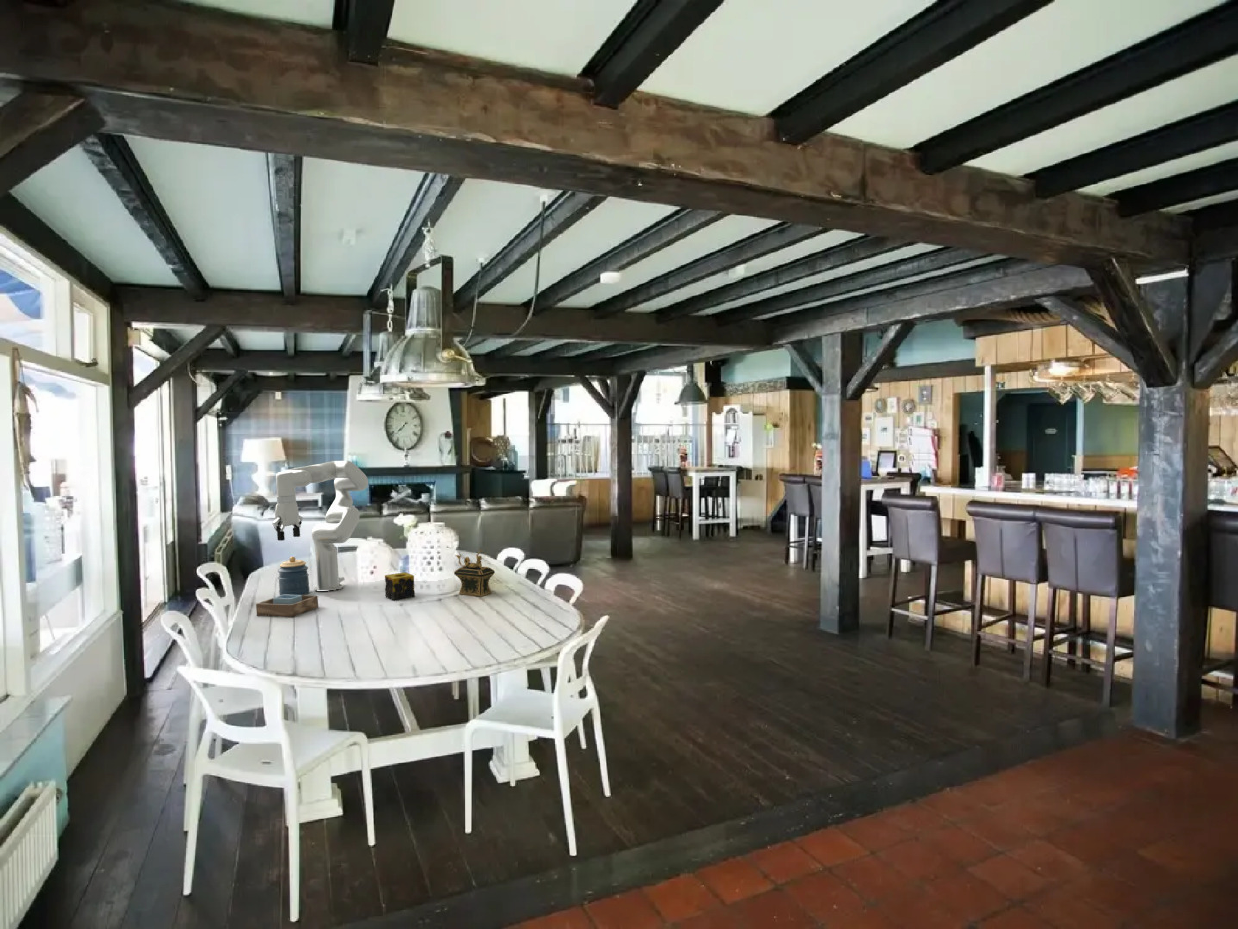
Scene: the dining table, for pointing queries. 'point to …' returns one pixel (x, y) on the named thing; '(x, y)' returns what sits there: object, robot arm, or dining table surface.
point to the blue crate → (287, 599)
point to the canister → (293, 578)
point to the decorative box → (474, 577)
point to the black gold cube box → (399, 586)
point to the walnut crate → (287, 607)
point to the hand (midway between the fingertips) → (289, 538)
